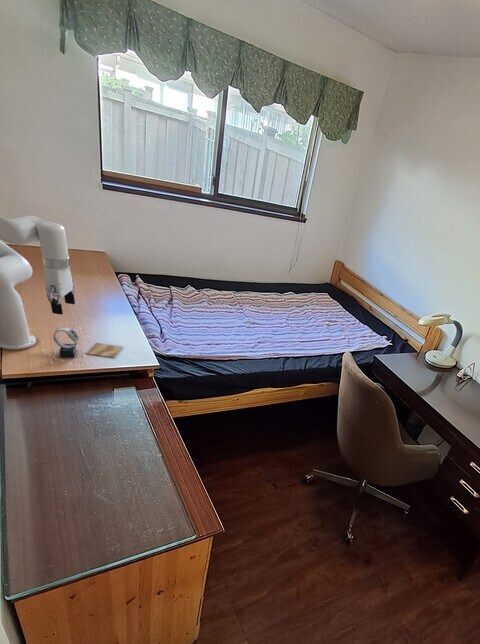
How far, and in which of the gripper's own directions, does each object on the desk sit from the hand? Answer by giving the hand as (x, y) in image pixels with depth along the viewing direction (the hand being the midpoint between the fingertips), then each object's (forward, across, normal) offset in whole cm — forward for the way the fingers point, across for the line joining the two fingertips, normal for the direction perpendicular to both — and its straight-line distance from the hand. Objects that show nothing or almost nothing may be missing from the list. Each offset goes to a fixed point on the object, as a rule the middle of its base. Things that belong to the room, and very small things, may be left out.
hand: (64, 308), depth 140 cm
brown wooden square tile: (+19, -6, +10) cm, 23 cm away
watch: (+20, 0, -1) cm, 20 cm away
